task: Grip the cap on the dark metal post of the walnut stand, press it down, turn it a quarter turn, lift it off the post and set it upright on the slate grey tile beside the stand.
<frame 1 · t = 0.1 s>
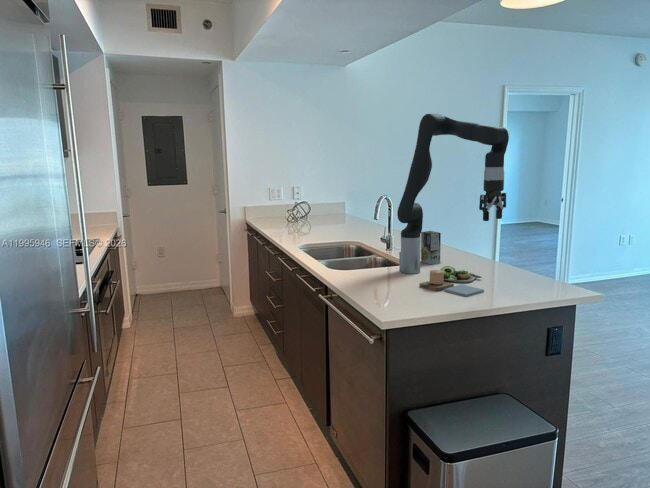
hand: (492, 219, 189), 29 cm above the counter, tool pointing down, fingers open, 8 cm apart
tile: (464, 291, 193), on the counter
post stand: (436, 287, 201), on the counter
salad plate: (454, 279, 216), on the counter
cap: (436, 282, 201), point 2 cm above the counter, touching post stand
coffee box: (430, 262, 249), on the counter
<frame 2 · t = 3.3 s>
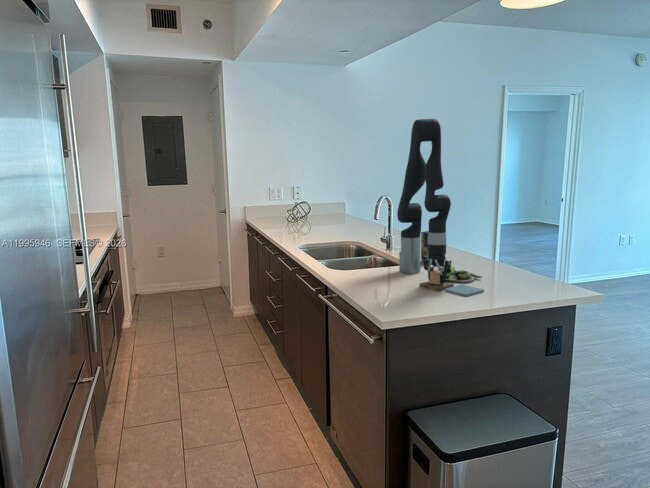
hand: (436, 281, 201), 2 cm above the counter, tool pointing down, fingers closed on cap, 5 cm apart
cap: (436, 282, 201), point 2 cm above the counter, touching gripper, post stand
everything else where it was.
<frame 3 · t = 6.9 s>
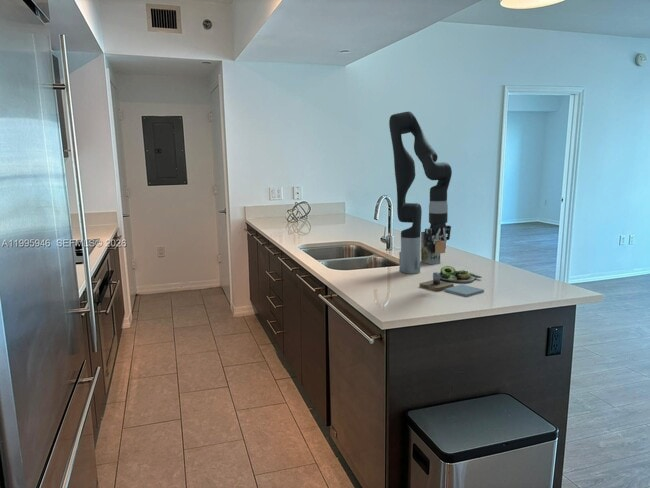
hand: (437, 251, 199), 15 cm above the counter, tool pointing down, fingers closed on cap, 5 cm apart
cap: (438, 252, 199), point 15 cm above the counter, touching gripper
everything else where it was.
when the fingers open (3 cm above the counter, at t = 10.8 s): cap drops 2 cm, resting on tile.
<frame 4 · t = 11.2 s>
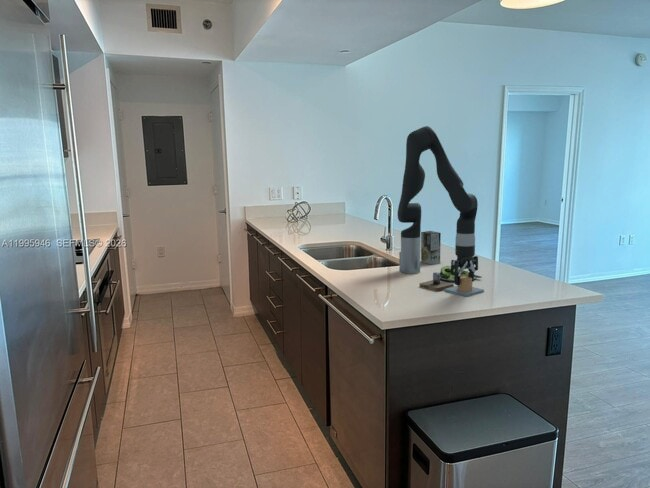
hand: (464, 283, 193), 4 cm above the counter, tool pointing down, fingers open, 8 cm apart
cap: (464, 289, 193), point 1 cm above the counter, touching tile
everything else where it was.
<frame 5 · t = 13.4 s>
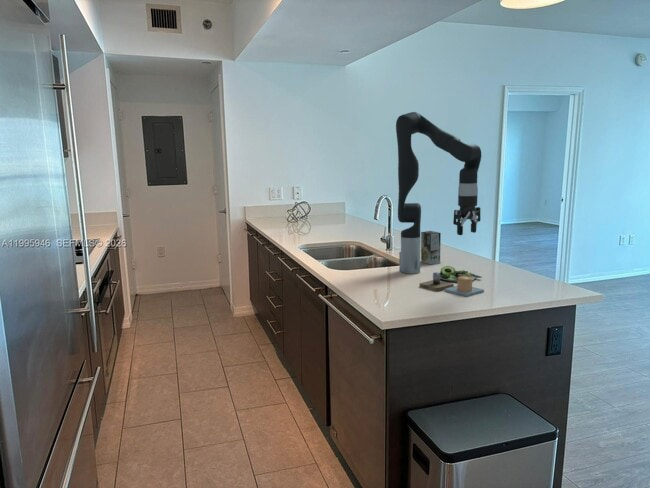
hand: (466, 233, 195), 23 cm above the counter, tool pointing down, fingers open, 8 cm apart
nothing on the counter moved.
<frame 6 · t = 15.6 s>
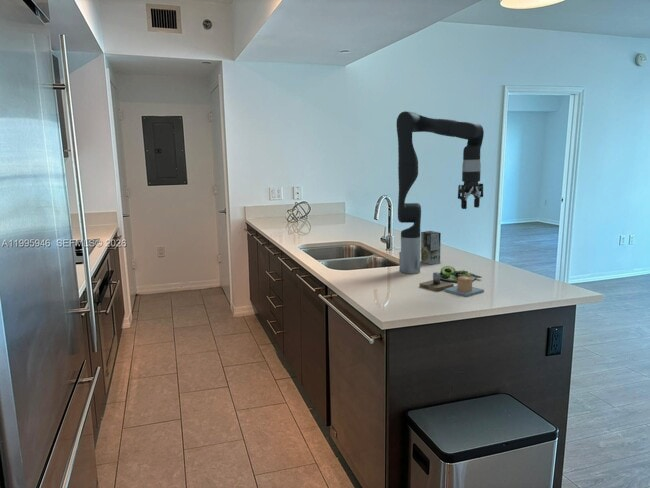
hand: (470, 208, 206), 32 cm above the counter, tool pointing down, fingers open, 8 cm apart
nothing on the counter moved.
at the end: cap inside the target area on the tile (0.3 cm from its centre), point 1.0 cm above the tile's base; cap tilted 0°; the gripper is holding nothing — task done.
